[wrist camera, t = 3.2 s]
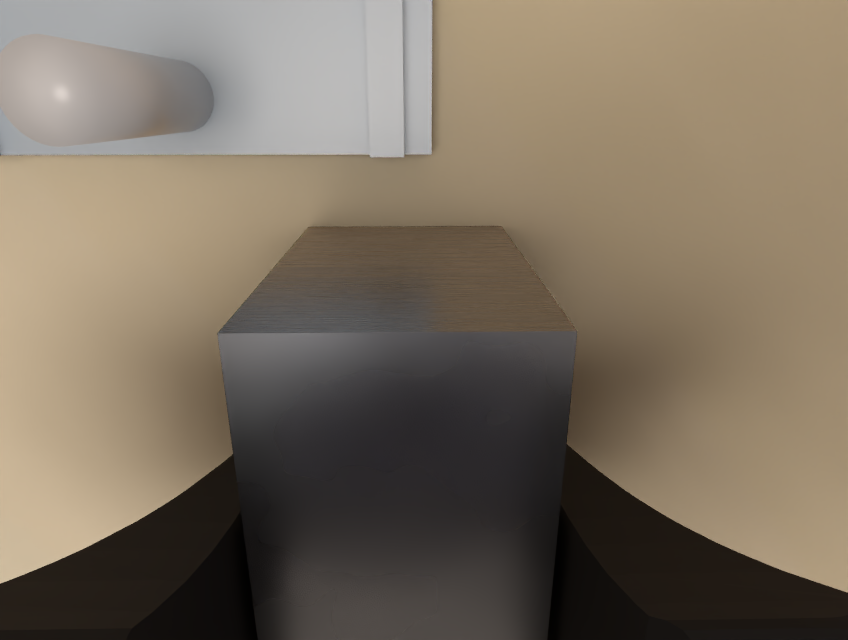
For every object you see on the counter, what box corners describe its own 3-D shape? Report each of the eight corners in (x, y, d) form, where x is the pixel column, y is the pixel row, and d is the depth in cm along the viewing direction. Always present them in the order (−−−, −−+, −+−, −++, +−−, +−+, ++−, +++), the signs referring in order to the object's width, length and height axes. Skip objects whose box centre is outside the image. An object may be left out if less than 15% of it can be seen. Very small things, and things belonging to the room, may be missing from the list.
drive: (503, 226, 12) (581, 330, 7) (487, 568, 15) (530, 839, 10) (306, 227, 12) (212, 333, 6) (330, 570, 15) (281, 843, 10)
